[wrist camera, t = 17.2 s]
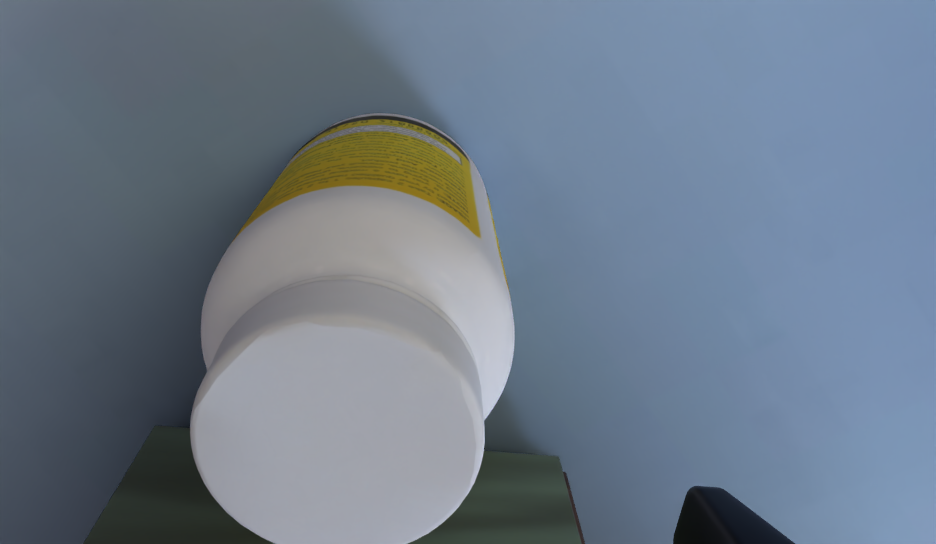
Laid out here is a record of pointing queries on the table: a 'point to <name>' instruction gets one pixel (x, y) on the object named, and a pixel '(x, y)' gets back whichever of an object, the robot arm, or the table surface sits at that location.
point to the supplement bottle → (355, 341)
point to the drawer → (225, 540)
